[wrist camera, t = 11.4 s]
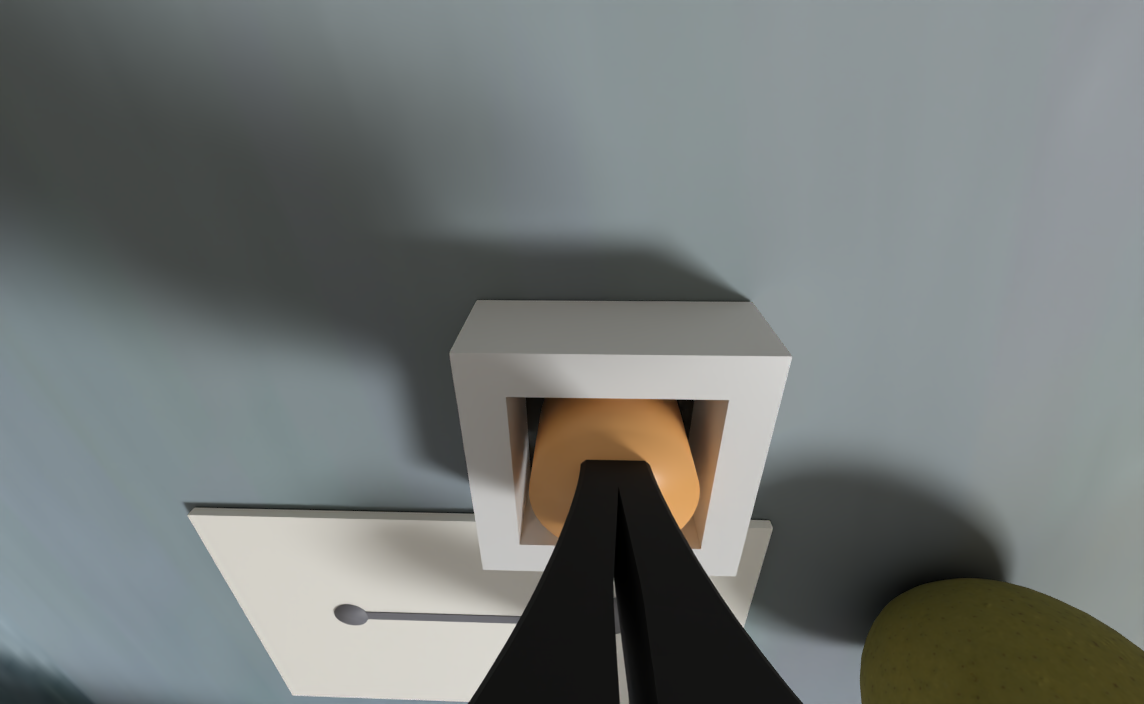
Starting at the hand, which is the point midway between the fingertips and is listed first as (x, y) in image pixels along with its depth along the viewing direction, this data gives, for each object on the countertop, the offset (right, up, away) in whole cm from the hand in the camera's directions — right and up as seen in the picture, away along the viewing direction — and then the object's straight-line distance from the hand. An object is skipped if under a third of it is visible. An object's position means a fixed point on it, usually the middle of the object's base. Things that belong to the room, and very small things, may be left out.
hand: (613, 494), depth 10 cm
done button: (0, +1, +2) cm, 2 cm away
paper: (-4, -7, +7) cm, 11 cm away
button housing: (0, +1, +3) cm, 3 cm away
